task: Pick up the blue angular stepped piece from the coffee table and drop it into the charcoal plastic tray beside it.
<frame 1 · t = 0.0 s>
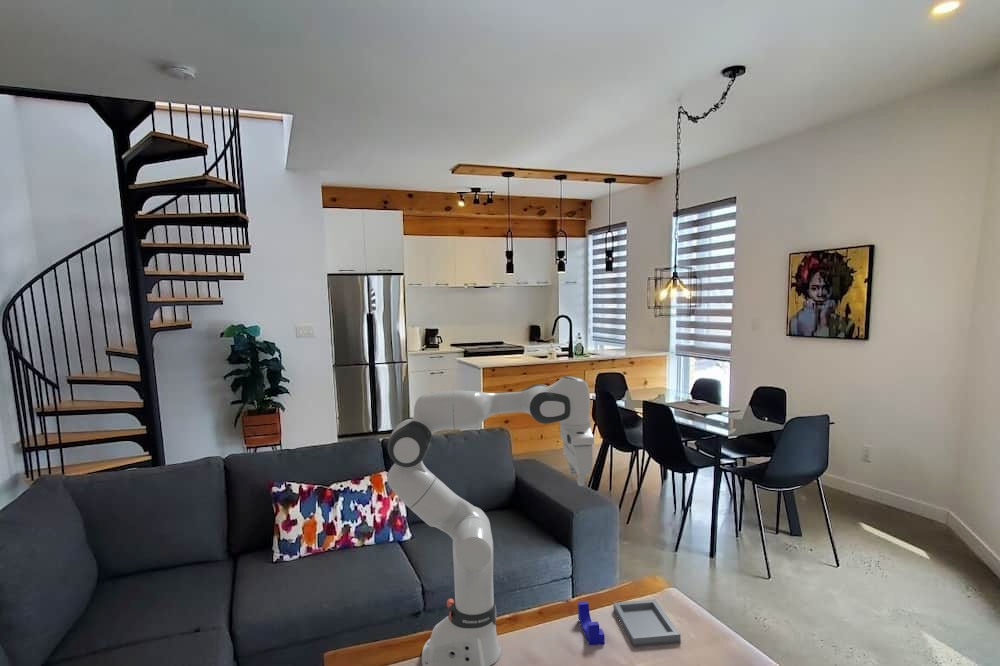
hand: (576, 479, 141), 48 cm above the table, fingers open, 8 cm apart
blue angular stepped piece: (591, 632, 147), on the table
tray: (645, 625, 149), on the table
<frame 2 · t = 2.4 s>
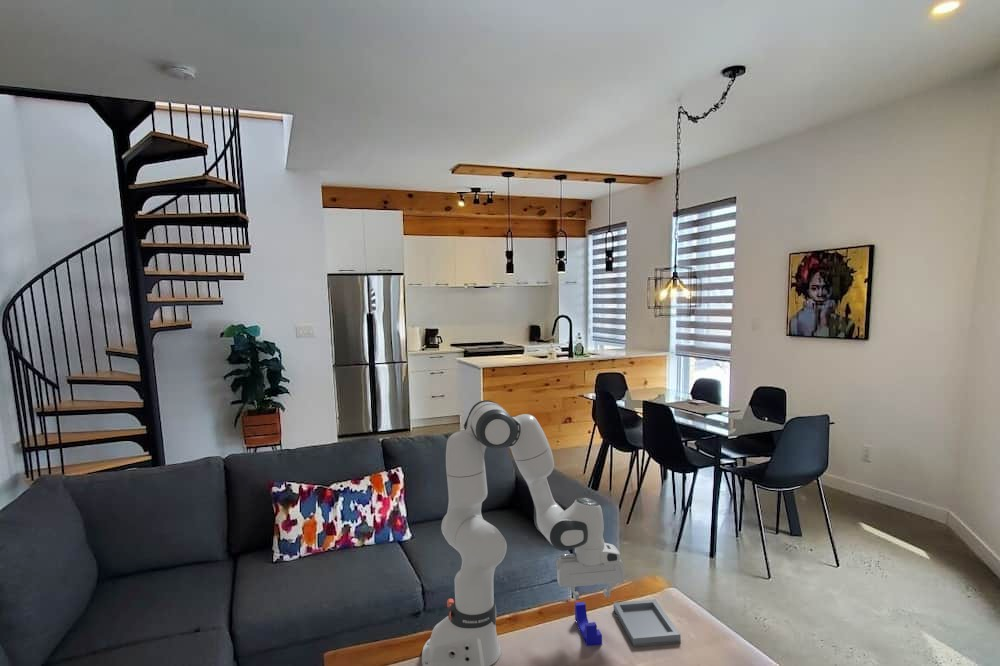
hand: (591, 597, 147), 10 cm above the table, fingers open, 8 cm apart
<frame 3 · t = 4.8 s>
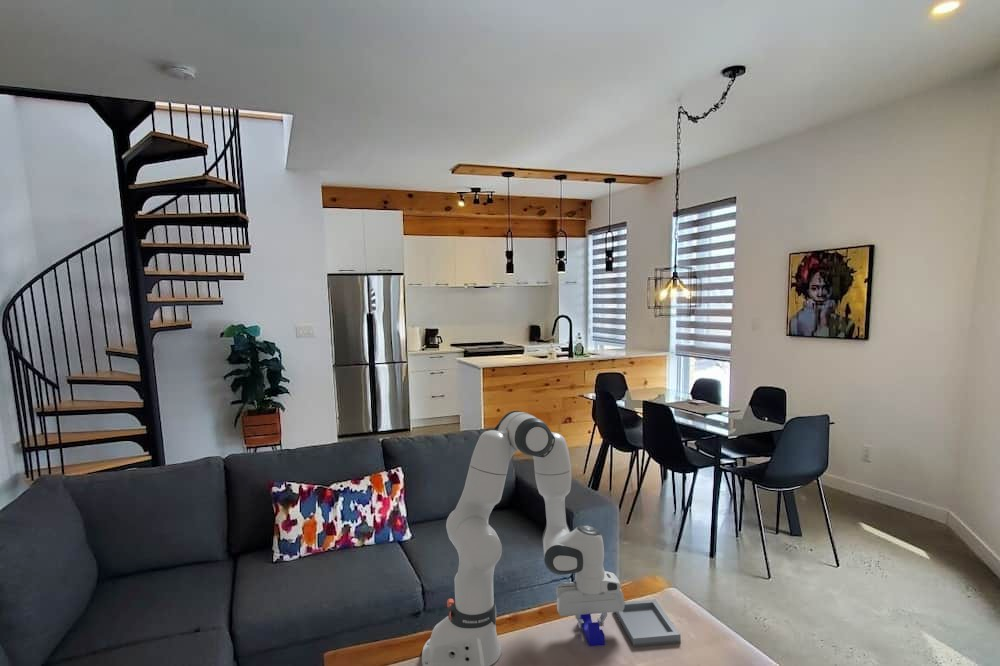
hand: (591, 626, 147), 2 cm above the table, fingers closed on blue angular stepped piece, 4 cm apart
blue angular stepped piece: (591, 633, 147), on the table, touching gripper
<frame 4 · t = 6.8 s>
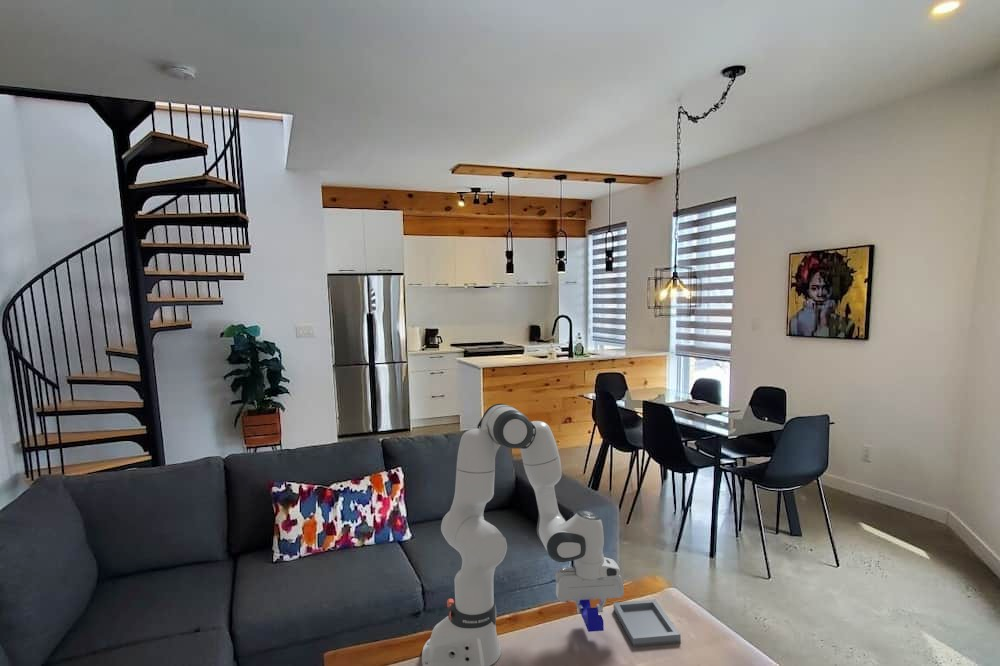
hand: (589, 612, 147), 6 cm above the table, fingers closed on blue angular stepped piece, 4 cm apart
blue angular stepped piece: (590, 619, 146), point 4 cm above the table, touching gripper
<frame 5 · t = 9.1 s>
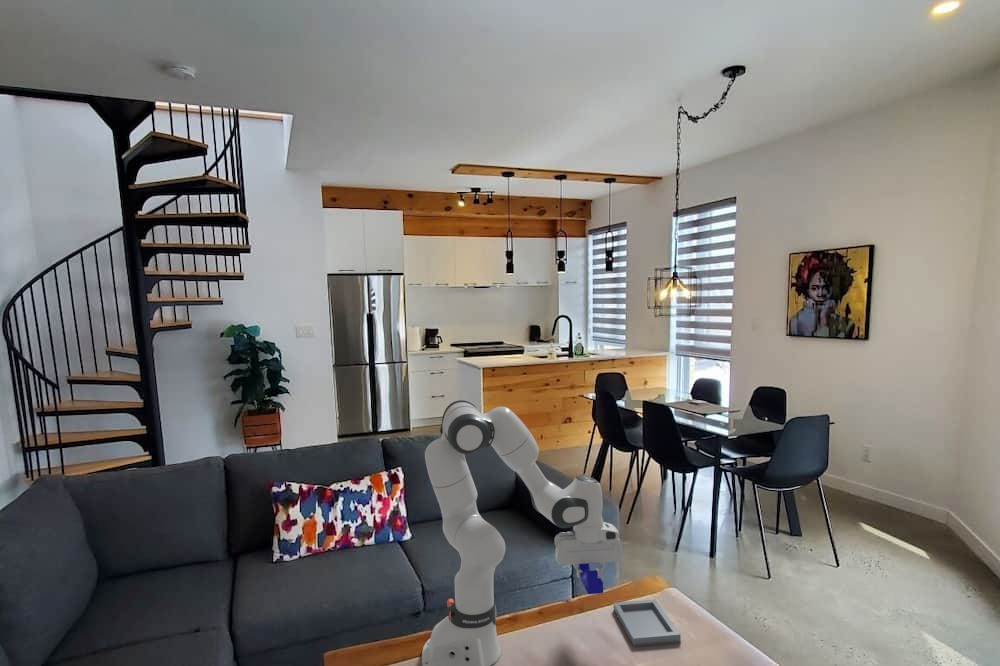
hand: (589, 576, 147), 17 cm above the table, fingers closed on blue angular stepped piece, 4 cm apart
blue angular stepped piece: (590, 583, 146), point 15 cm above the table, touching gripper
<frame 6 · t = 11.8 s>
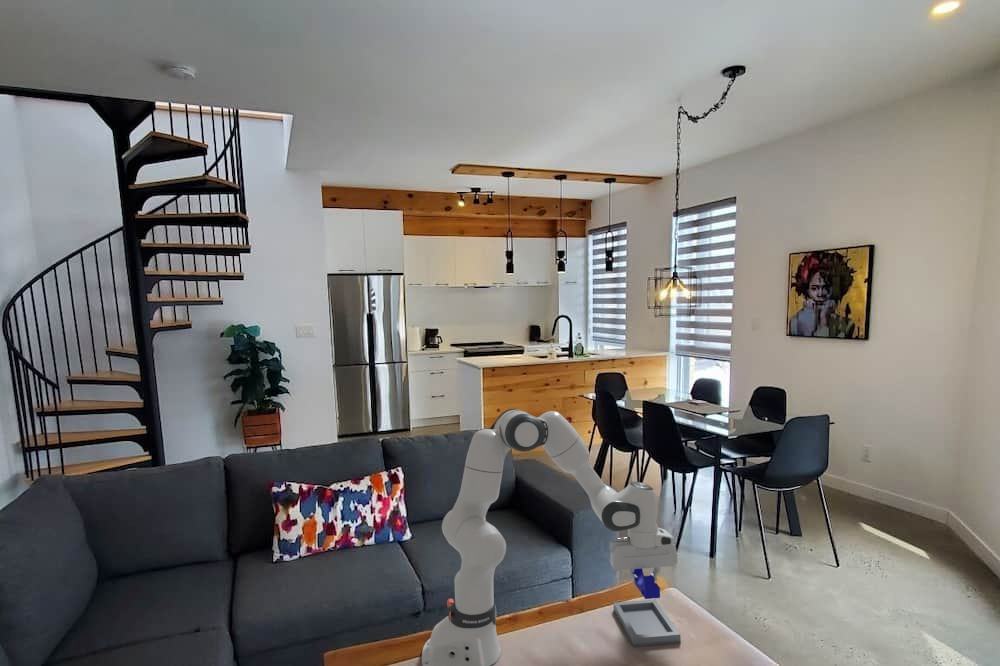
hand: (644, 580, 149), 14 cm above the table, fingers closed on blue angular stepped piece, 4 cm apart
blue angular stepped piece: (644, 588, 148), point 12 cm above the table, touching gripper
when the fingers open (4 cm above the table, at t = 13.8 s): blue angular stepped piece drops 2 cm, resting on tray.
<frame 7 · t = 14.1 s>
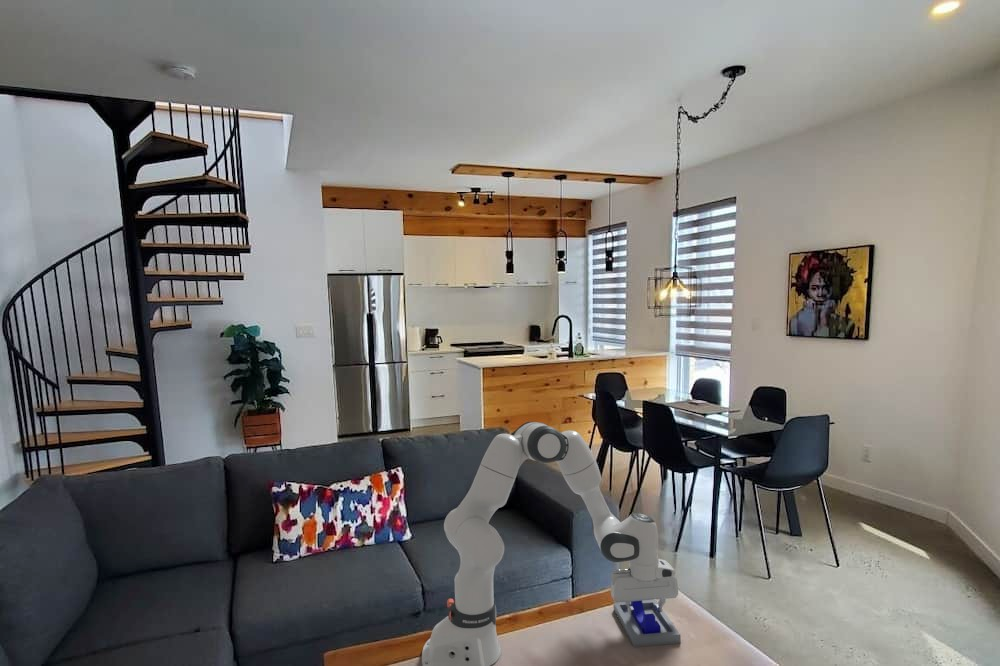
hand: (644, 612, 149), 4 cm above the table, fingers open, 7 cm apart
blue angular stepped piece: (645, 625, 148), point 1 cm above the table, touching tray
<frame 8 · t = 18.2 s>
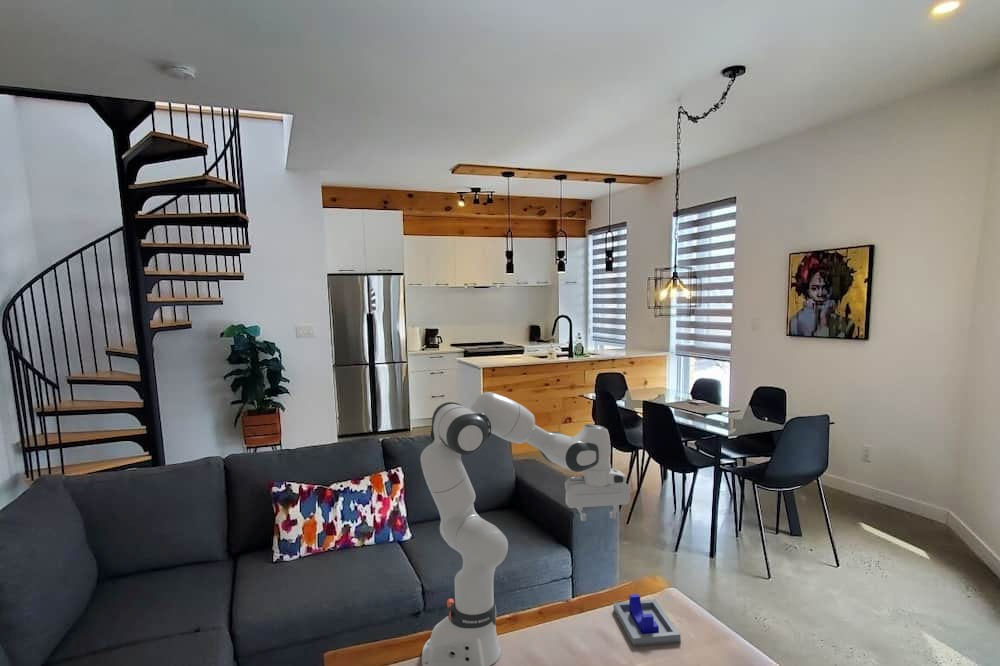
hand: (598, 519, 154), 31 cm above the table, fingers open, 8 cm apart
nothing on the table moved.
at the end: blue angular stepped piece inside the target area on the tray (0.9 cm from its centre), point 0.6 cm above the tray's base; the gripper is holding nothing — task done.
